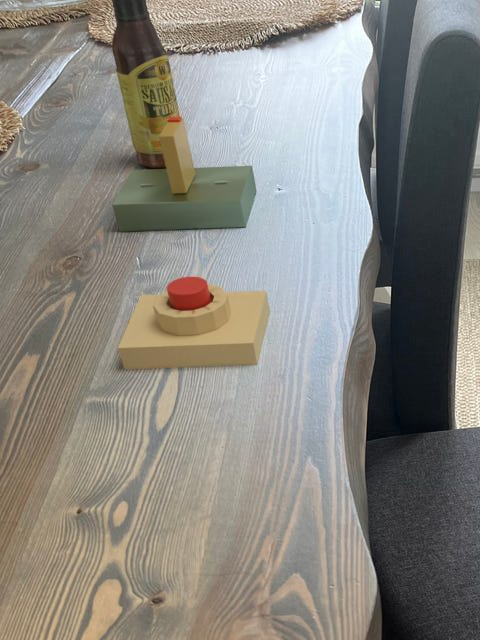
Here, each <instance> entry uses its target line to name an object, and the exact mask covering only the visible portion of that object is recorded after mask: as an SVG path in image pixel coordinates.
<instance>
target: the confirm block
mask: <svg viewBox="0 0 480 640" xmlns="http://www.w3.org/2000/svg"><path fill="white" fill-rule="evenodd" d="M207 284H208V288H209V293H210V297H211V303H210V304H208V305H207V306H205V307H203V308H200V309H196V310H191V311H179V310H175V309H172V307H171V304H170V300H169V296H168V292H167V290H165V291H164V292H162V293H160V294H141V295H140V296H139V299H138V300H137V303H136V305H135V307H134V310H133V312H132V315H131V316H130V319H129V322H128V324H127V326H126V328H125V330H124V333H123V334H122V337H121V340H120V342H119V344H118V347H117V350H118V353H119V357H120V360H121V363H122V367H123V369H124V370H150V369H174V368H175V369H176V368H201V367H204V368H205V367H229V366H232V367H233V366H255V365H256V366H257V365H258V364H259V361H260V356H261V353H262V352H261V351H262V347H263V343H264V339H265V335H266V331H267V327H268V323H269V319H270V314H271V309H270V303H269V298H268V292H267V290H247V291H225V290H224V289H223V288H222V287H221V286H218V285H214V284H211V283H207Z"/></svg>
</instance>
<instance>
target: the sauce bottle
mask: <svg viewBox="0 0 480 640" xmlns="http://www.w3.org/2000/svg"><path fill="white" fill-rule="evenodd" d="M111 2H112V7H113V12H114V18H115V21H116V25H115V28H114V32H113V35H112V43H111V45H112V46H111V49H112V55H113V59H114V62H115V66H116V70H115V71H116V76H117V80H118V85H119V88H120V94H121V97H122V101H123V106H124V112H125V115H126V119H127V124H128V129H129V133H130V138H131V143H132V147H133V149H134V151H135V155H136V160H137V162H138V163H139V164H140V166H143V167H148V168H150V169H162V168H166V165H165V161H164V156H163V152H162V148H161V144H160V140H159V135H160V134H161V132H162V130H163V129H164V127H165V125H166V123H167V122H168V119H169V117H181V115H180V110H179V106H178V100H177V95H176V89H175V84H174V80H173V74H172V69H171V65H170V64H171V63H170V60H169V55H168V53H167V51H166V50H165V47H164V45H163V44H162V41H161V40H160V38H159V36H158V33H157V31H156V29H155V27H154V25H153V22H152V20H151V18H150V12H149V10H148V6H147V0H111Z"/></svg>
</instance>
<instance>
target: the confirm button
mask: <svg viewBox="0 0 480 640" xmlns="http://www.w3.org/2000/svg"><path fill="white" fill-rule="evenodd" d="M208 284H209V283H208V281H207V280H206V279H204V278H203V277H200V276H184V277H179V278H176V279H174V280H172V281H171V282H169V283H168V284H167V286H166V291H167V292H168V296H169V300H170V304H171V307H172V309H175V310H179V311H191V310H196V309H200V308H203V307H205V306H207V305H208V304H210V303H211V297H210V293H209V288H208Z"/></svg>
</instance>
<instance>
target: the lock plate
mask: <svg viewBox="0 0 480 640" xmlns="http://www.w3.org/2000/svg"><path fill="white" fill-rule="evenodd" d="M194 169H195V176H194V178H193V180H192V183H191V185H190V187H189V189H188V191H187V193H177V194H172V190H171V186H170V182H169V178H168V173H167V169H166V168H150V169H149V168H148V169H131V170H130V172H129V174H128V176H127V177H126V179H125V181H124V183H123V184H122V186H121V187H120V190H119V192H118V193H117V195H116V196H115V199H114V201H113V203H112V206H111V207H112V209H113V213H114V216H115V220H116V224H117V227H118V231H119V232H121V233H122V232H147V231H176V230H178V231H179V230H205V229H232V228H246V226H247V224H248V221H249V218H250V214H251V211H252V207H253V204H254V201H255V198H256V195H257V186H256V180H255V174H254V168H253V166H252V165H233V166H230V165H229V166H207V167H194Z"/></svg>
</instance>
